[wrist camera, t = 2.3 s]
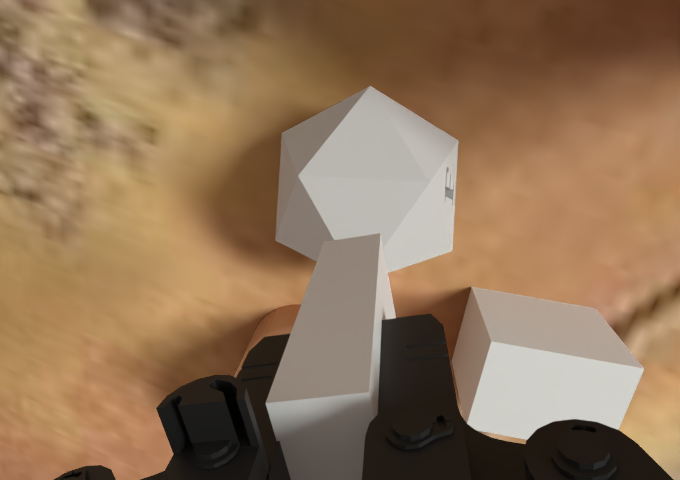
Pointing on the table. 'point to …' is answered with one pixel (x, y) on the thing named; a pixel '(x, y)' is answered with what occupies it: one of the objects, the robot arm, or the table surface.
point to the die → (368, 180)
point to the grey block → (539, 365)
